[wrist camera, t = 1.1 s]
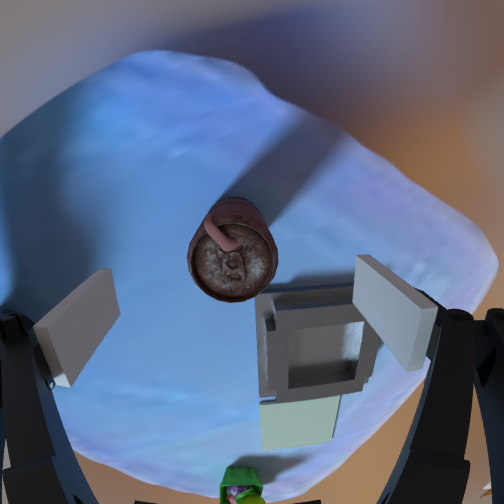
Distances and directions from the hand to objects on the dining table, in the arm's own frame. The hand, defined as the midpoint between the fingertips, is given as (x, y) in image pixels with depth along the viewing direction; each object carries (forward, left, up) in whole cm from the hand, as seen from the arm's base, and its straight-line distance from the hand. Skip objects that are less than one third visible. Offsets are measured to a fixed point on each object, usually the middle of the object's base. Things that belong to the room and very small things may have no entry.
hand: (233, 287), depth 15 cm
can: (0, 0, -18) cm, 18 cm away
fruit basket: (-2, -49, -18) cm, 52 cm away
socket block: (+10, -16, -18) cm, 26 cm away
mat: (+8, -32, -18) cm, 38 cm away
